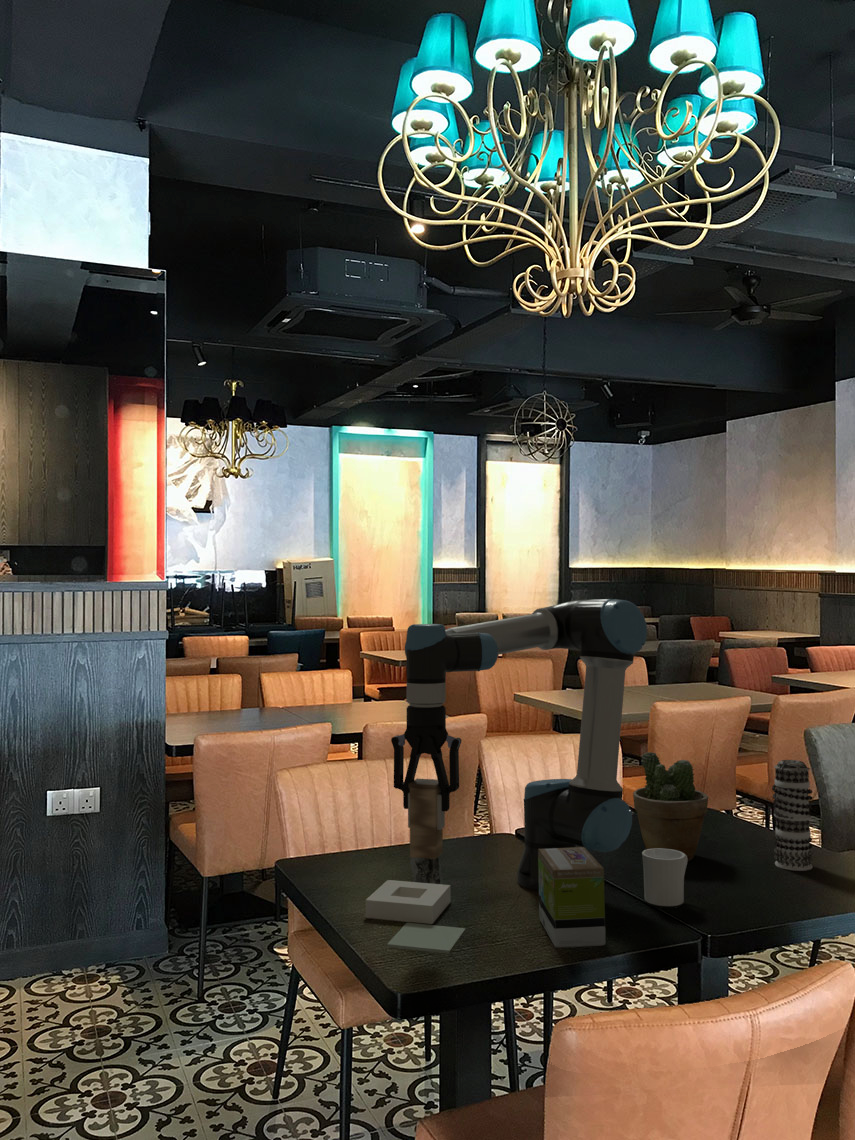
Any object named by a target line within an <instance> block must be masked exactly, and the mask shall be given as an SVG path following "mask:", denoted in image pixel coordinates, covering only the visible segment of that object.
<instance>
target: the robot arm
mask: <svg viewBox="0 0 855 1140" xmlns="http://www.w3.org/2000/svg"><path fill="white" fill-rule="evenodd" d="M647 625H648V624H647V621H646V618H645V616H644V613H642V612H641V610H640V608H639V607H638V605H636V604H635V603H634V602H631V601H629V600H626V599H625V600H624V599H617V598H614V599H613V598H608V599H607V598H605V599H602V598H601V599H600V598H599V599H575V600H569V601H566V602H561V603H558V604H555V605H554V604H553V605H551V606H546V607H540V608H537V609H534V611H533V612H532V613H531V614H526V615H520V616H513V617H508V618H502V619H501V618H500V619H497V620H489V621H486V622H479V623H473V624H466V625H461V626H460V625H459V626H455V627H448V628H446V627H445V625H444V624H442V623H413V624H411V625H409V626H408V627H407V630H406V637H405V639H406V641H405V643H404V654H405V658H406V664H405V665H406V703H407V704H409V705H407V707H406V729H405V731H404V733H403V734H400V735H398V734H397V735H395V736H392V737H391V739H390V741H391V744H392V747H393V788H394V789H397V790H399V791H402V794H403V795H402V797H403V798H402V800H403V802H402V803H403V804H402V805H403V808H404V810H407V828H409V829H410V788H409V783H410V782H412V781H414V780H415V778H416V776H417V775H416V774H417V771H418V766H419V761H420V757H421V755H423V754H427V755H430V756H431V757H430V758H431V760H432V763H433V767H434V770H435V775H436V777H437V779H436V780H438V783H439V787H440V791H441V792H440V793H439V794H438V795H437V830H441V829H444V828H445V825H446V824H445V820H446V819H445V818H446V817H445V812H448V811H449V809H450V800H451V799H450V795H451V793H454V792H456V791H457V790H459V788H460V760H459V759H460V757H459V754H460V753H459V751H460V747H461V745H462V739H461V737H454V736H451V735H449V733H448V731H447V728H446V727H447V726H446V724H447V721H446V720H447V717H446V716H447V710H446V706H445V705H443V704H445V703H446V695H447V693H446V686H447V685H446V684H447V681H446V680H447V679H446V678H447V677H446V676H447V675H446V674H447V673H451V672H459V673H460V672H481V671H487V670H490V669H492V668H493V667H494V666H495V665H496V663H497V660H498V657H499V655H505V654H509V653H510V654H511V653H516V652H520V651H525V650H530V649H535V648H539V649H540V650H543V651H547V650H553V649H554V650H555V649H562V650H563V649H565V650H575V651H580V652H579V659H580V660H581V661H582V662H583V663H584V665H585V673H584V674H585V676H584V677H585V678H584V686H583V699H582V700H583V701H582V709H581V710H582V712H581V721H580V722H581V723H580V733H579V735H580V736H579V745H578V746H579V747H578V757H577V768H576V776H574V777H573V778H572V779H571V778H551V779H541V780H534V781H530V782H528V783H527V784H526V785H525V786H524V796H523V825H524V826H523V827H524V828H523V829H524V849H523V852H522V855H521V858H520V862H519V865H518V868H517V870H516V871H517V872H516V873H517V874H516V876H517V878H516V880H517V883H518V884H519V885H520V886H522V887H524V888H527V889H530V890H534V891H538V892H539V869H538V849H551V848H572V847H585V848H586V850H589V851H591V852H592V851H595V852H601V853H609V852H611V853H612V852H613V851H616V850H617V849H619V848H620V847H621V846H622V844H623V843H625V842H626V840H627V839H628V836H629V835H630V833H631V829H632V825H633V814H632V809H631V808H630V806H629V804H628V803H627V802H625V800H623V795H624V793H623V791H624V788H623V787H622V785H621V784H619V782H618V780H617V778H618V769H619V768H618V765H619V757H620V756H619V755H620V741H621V731H622V730H621V729H622V716H623V708H624V707H623V705H624V692H625V682H626V681H625V679H626V671H627V669H628V668H629V667H630V666H631V665H633V664H634V658H635V657H634V656H635V654H637V653H639V652H640V651H641V650H642V649H643V646H644V645H645V644H646V641H647V637H648V626H647ZM406 742H407V743H408V745H409V746H410V747H411V750H410V754H409V762H408V765H407V770H406V773H405V776H404V768H405V767H404V763H405V760H404V759H405V758H404V757H405V753H404V752H405V747H404V745H405V744H406ZM445 743H447V747H448V749H449V752H448V753H449V755H448V756H449V758H448V759H449V765H448V766H449V779H448V776H447V771H446V767H445V763H444V759H443V751H442V749H441V748H442V747H443V746H444V745H445Z"/></svg>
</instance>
